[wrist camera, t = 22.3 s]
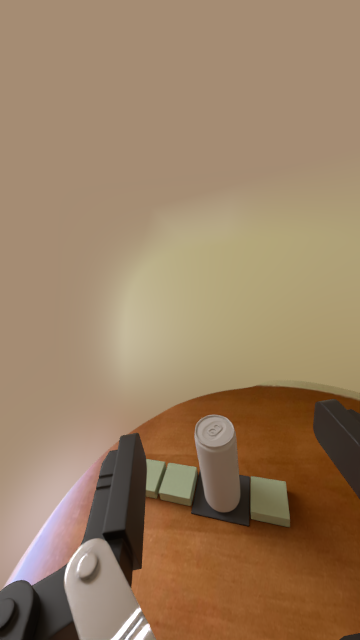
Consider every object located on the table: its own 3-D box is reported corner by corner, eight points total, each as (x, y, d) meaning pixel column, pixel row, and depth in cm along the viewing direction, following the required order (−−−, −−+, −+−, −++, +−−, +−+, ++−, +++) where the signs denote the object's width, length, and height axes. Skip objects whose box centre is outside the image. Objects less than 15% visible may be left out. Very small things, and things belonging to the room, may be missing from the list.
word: (126, 498, 34) (123, 491, 33) (143, 459, 39) (141, 453, 39) (290, 536, 27) (291, 527, 27) (284, 483, 33) (284, 475, 32)
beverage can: (197, 494, 33) (185, 430, 28) (221, 470, 35) (213, 407, 31) (224, 524, 29) (215, 456, 25) (248, 494, 32) (244, 428, 27)
